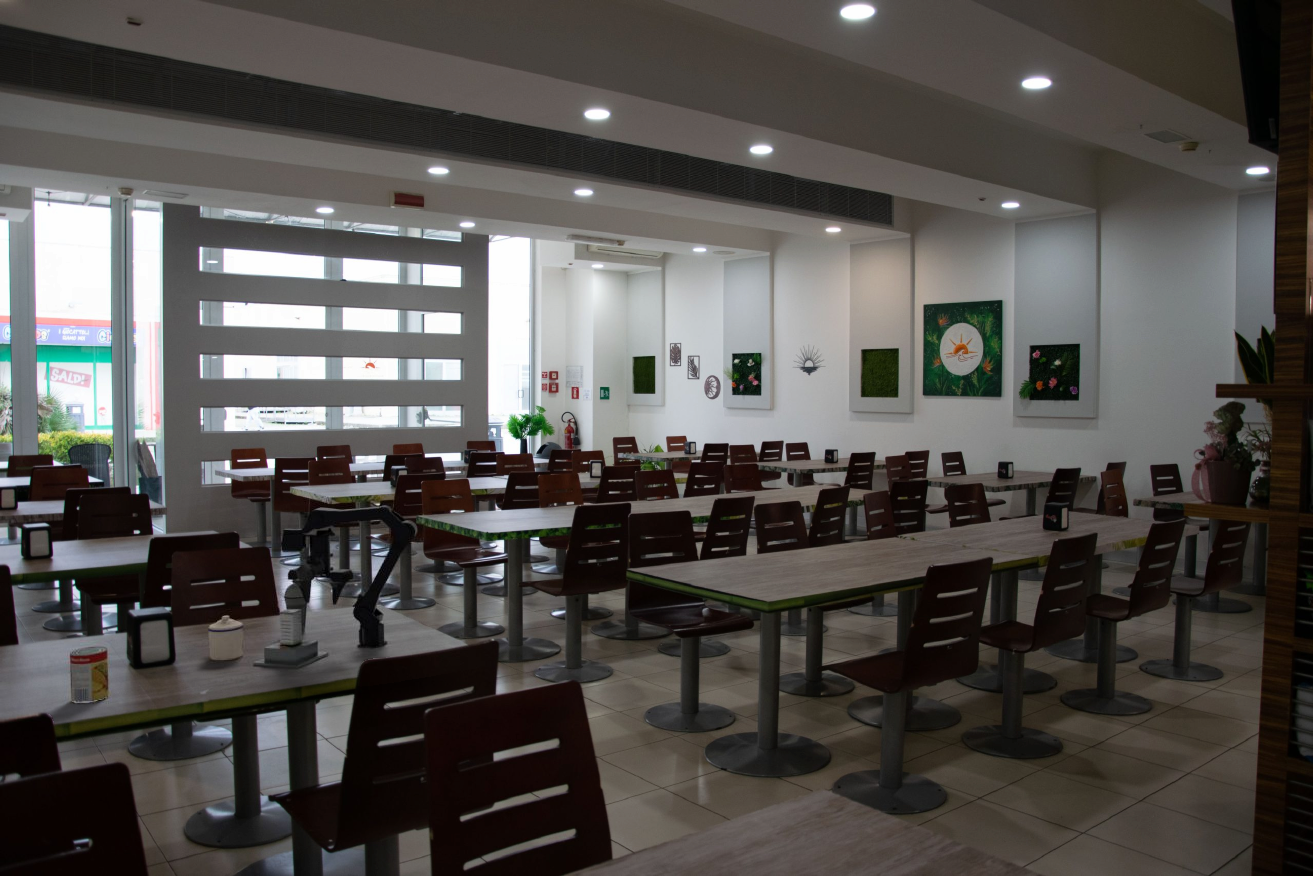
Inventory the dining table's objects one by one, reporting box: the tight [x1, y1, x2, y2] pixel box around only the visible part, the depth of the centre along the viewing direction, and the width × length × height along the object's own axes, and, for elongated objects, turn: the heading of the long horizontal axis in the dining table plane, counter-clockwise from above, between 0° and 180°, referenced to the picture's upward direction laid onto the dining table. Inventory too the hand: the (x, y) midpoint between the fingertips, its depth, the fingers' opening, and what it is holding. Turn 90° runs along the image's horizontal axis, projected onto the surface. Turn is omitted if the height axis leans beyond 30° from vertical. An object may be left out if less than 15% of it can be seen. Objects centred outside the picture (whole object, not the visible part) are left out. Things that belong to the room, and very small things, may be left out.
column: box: [279, 609, 303, 645], centre depth 263 cm, size 4×4×9 cm
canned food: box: [69, 645, 110, 702], centre depth 230 cm, size 8×8×12 cm
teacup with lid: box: [207, 615, 244, 662], centre depth 268 cm, size 12×9×12 cm
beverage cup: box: [283, 582, 308, 634], centre depth 295 cm, size 7×7×20 cm
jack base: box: [252, 639, 329, 670], centre depth 263 cm, size 14×14×5 cm
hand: (321, 603), depth 276 cm, fingers open, 9 cm apart
